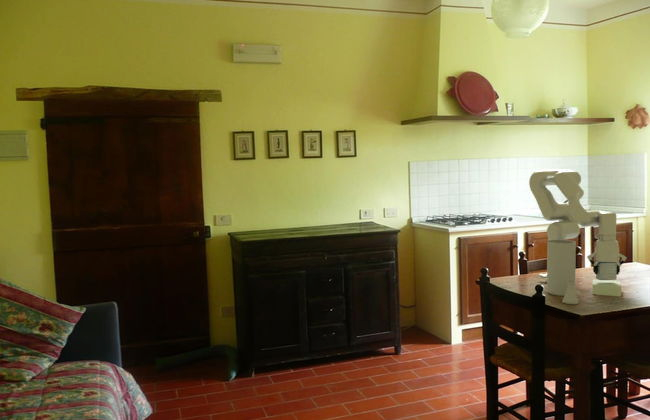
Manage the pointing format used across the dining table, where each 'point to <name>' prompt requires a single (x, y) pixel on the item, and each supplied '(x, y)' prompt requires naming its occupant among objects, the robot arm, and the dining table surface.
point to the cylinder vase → (560, 265)
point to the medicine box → (607, 271)
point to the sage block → (606, 287)
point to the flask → (570, 294)
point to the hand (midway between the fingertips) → (606, 273)
